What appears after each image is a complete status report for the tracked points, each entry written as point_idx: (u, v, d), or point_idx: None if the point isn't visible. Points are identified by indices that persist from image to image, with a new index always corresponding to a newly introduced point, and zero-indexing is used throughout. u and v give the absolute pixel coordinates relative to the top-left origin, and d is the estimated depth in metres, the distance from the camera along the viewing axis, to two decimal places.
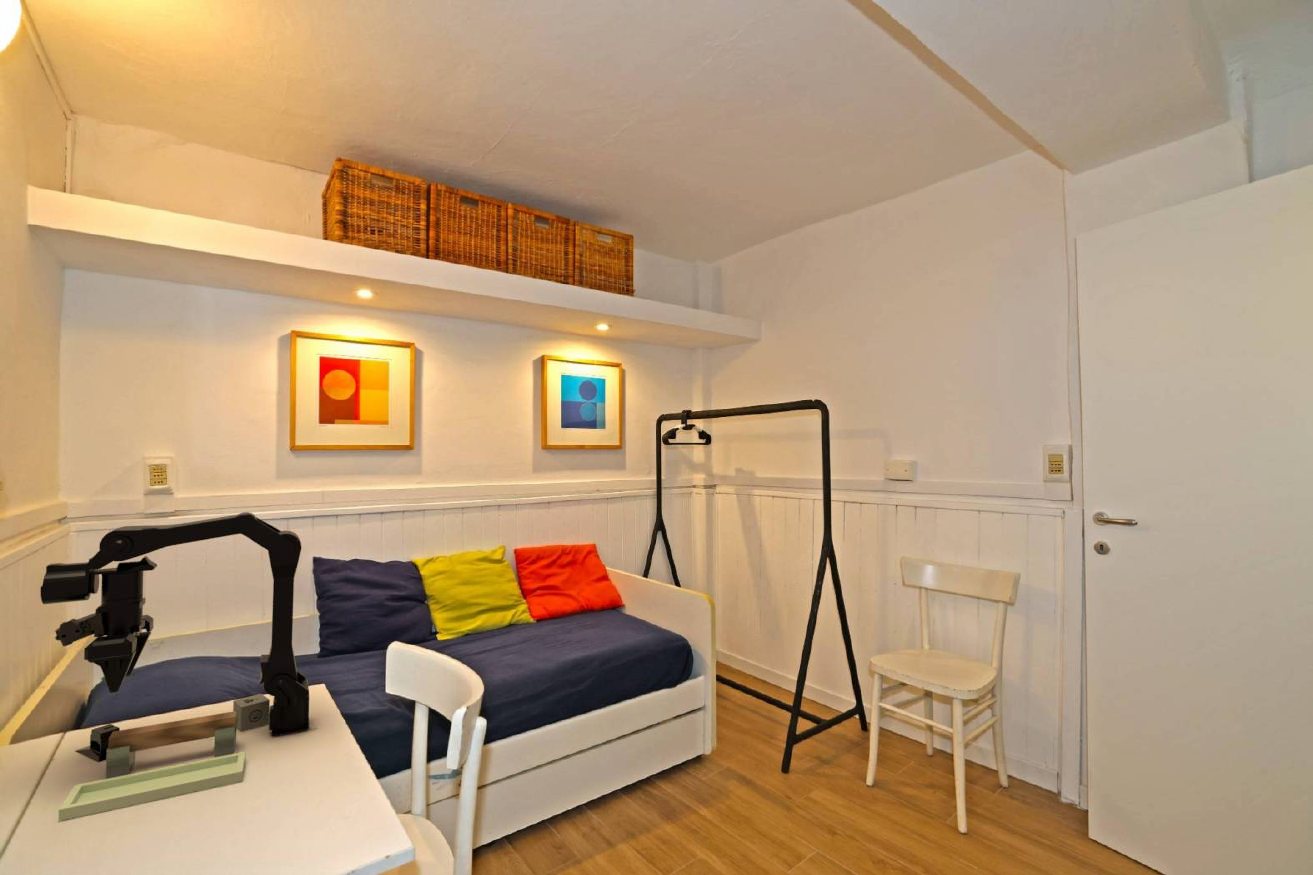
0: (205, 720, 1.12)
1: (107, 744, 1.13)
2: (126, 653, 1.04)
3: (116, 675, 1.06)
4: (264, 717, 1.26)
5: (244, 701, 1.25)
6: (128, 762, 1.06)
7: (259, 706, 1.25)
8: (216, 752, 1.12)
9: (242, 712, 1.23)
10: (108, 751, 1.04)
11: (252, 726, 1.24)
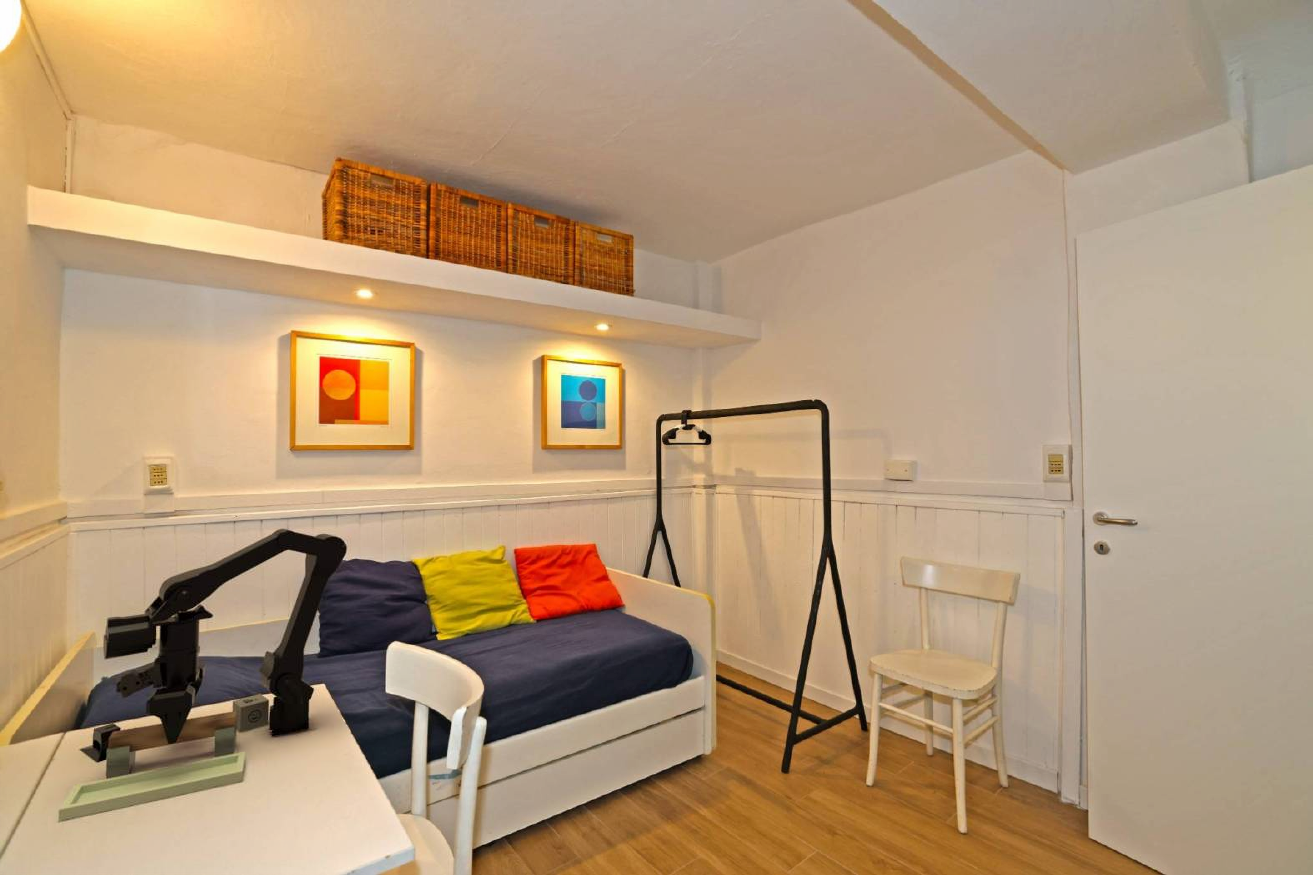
0: (205, 720, 1.12)
1: (107, 744, 1.13)
2: (186, 706, 1.05)
3: (175, 727, 1.06)
4: (263, 717, 1.25)
5: (243, 701, 1.25)
6: (128, 762, 1.06)
7: (259, 706, 1.25)
8: (216, 752, 1.12)
9: (242, 712, 1.22)
10: (108, 751, 1.04)
11: (251, 726, 1.24)
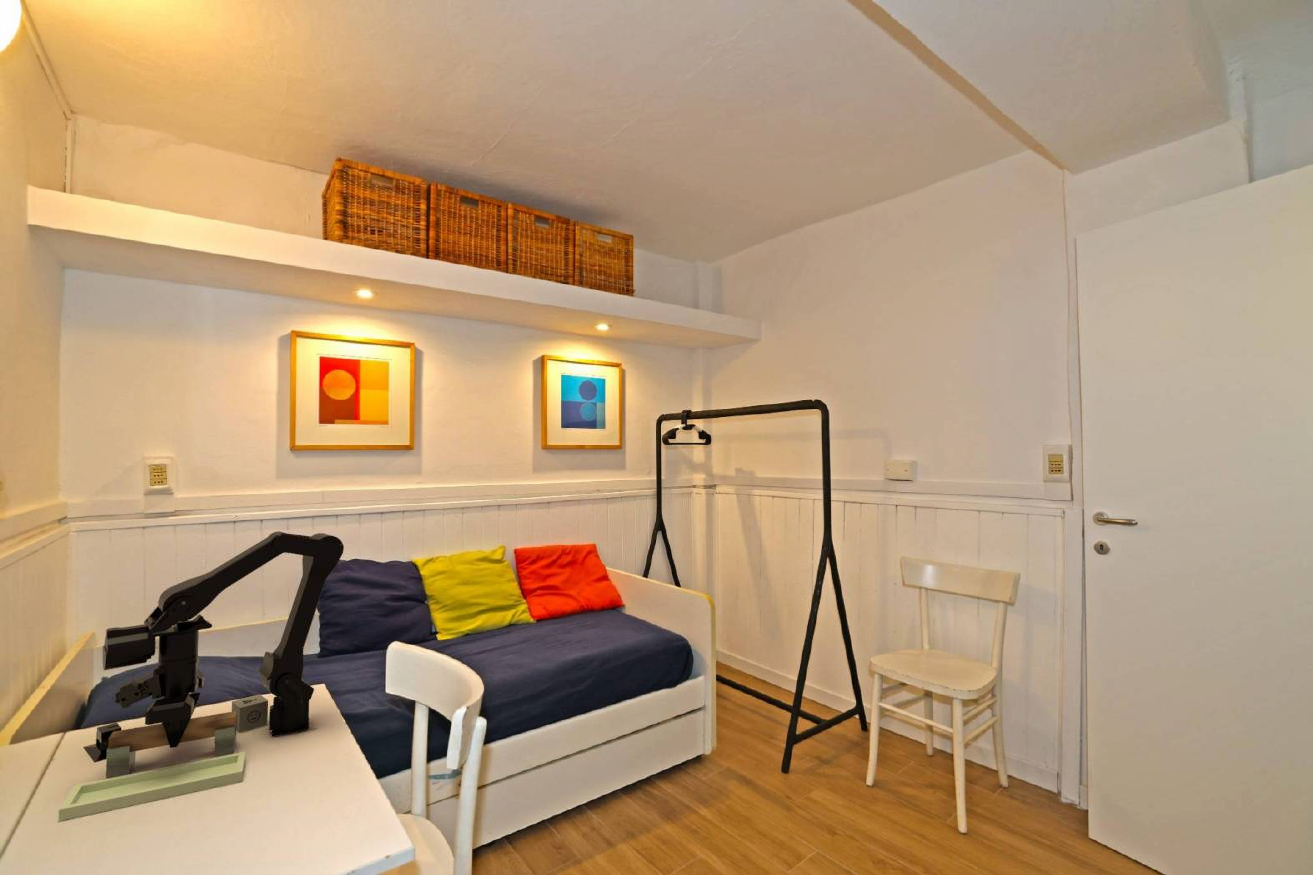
0: (205, 720, 1.12)
1: (108, 744, 1.13)
2: (185, 717, 1.04)
3: (176, 731, 1.09)
4: (262, 718, 1.25)
5: (242, 702, 1.25)
6: (128, 762, 1.06)
7: (258, 707, 1.25)
8: (216, 752, 1.12)
9: (241, 713, 1.22)
10: (108, 751, 1.04)
11: (250, 727, 1.23)
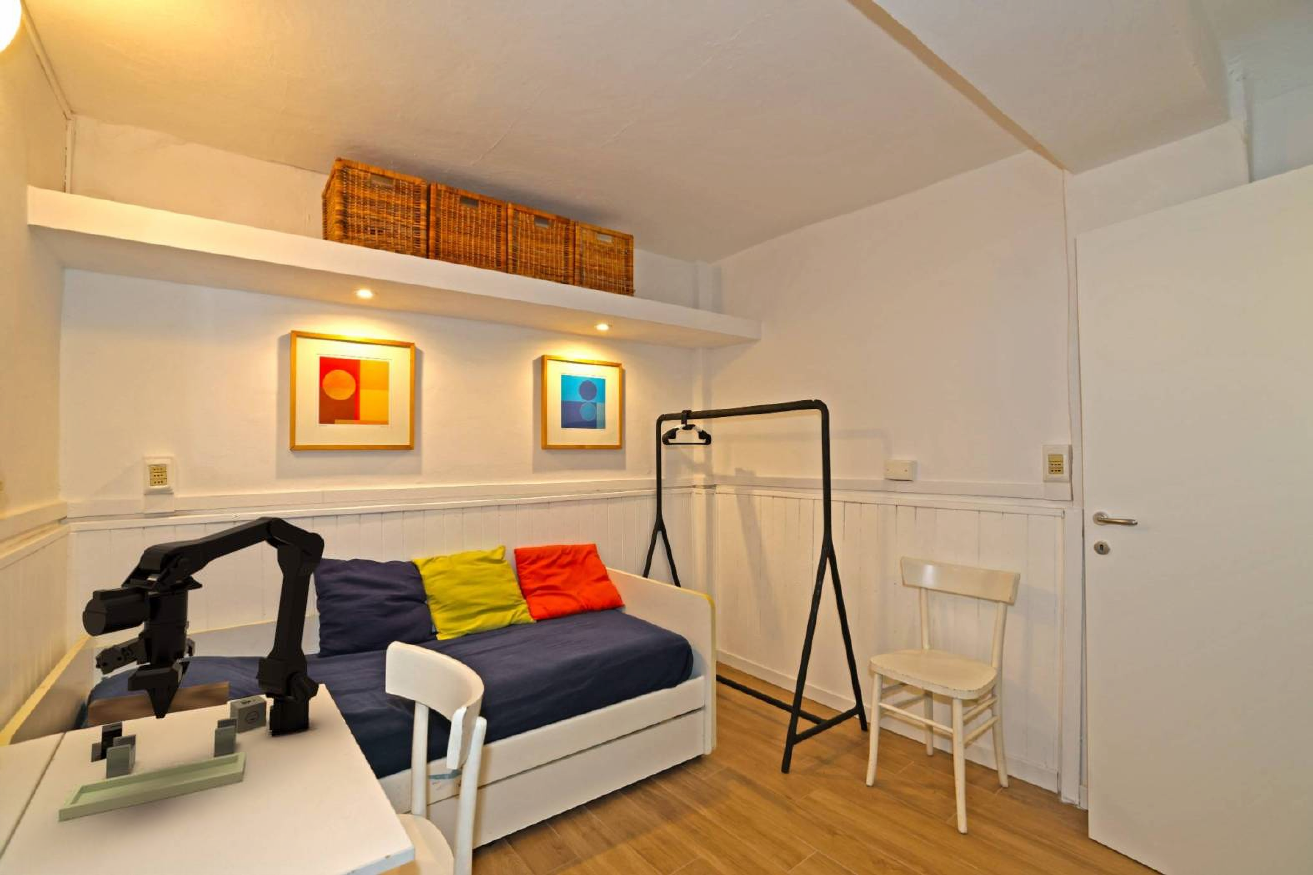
0: (194, 690, 1.04)
1: (108, 743, 1.13)
2: (172, 683, 0.95)
3: (163, 700, 1.00)
4: (261, 719, 1.25)
5: (241, 702, 1.25)
6: (128, 762, 1.06)
7: (256, 708, 1.24)
8: (216, 752, 1.12)
9: (239, 713, 1.22)
10: (108, 751, 1.04)
11: (249, 728, 1.23)
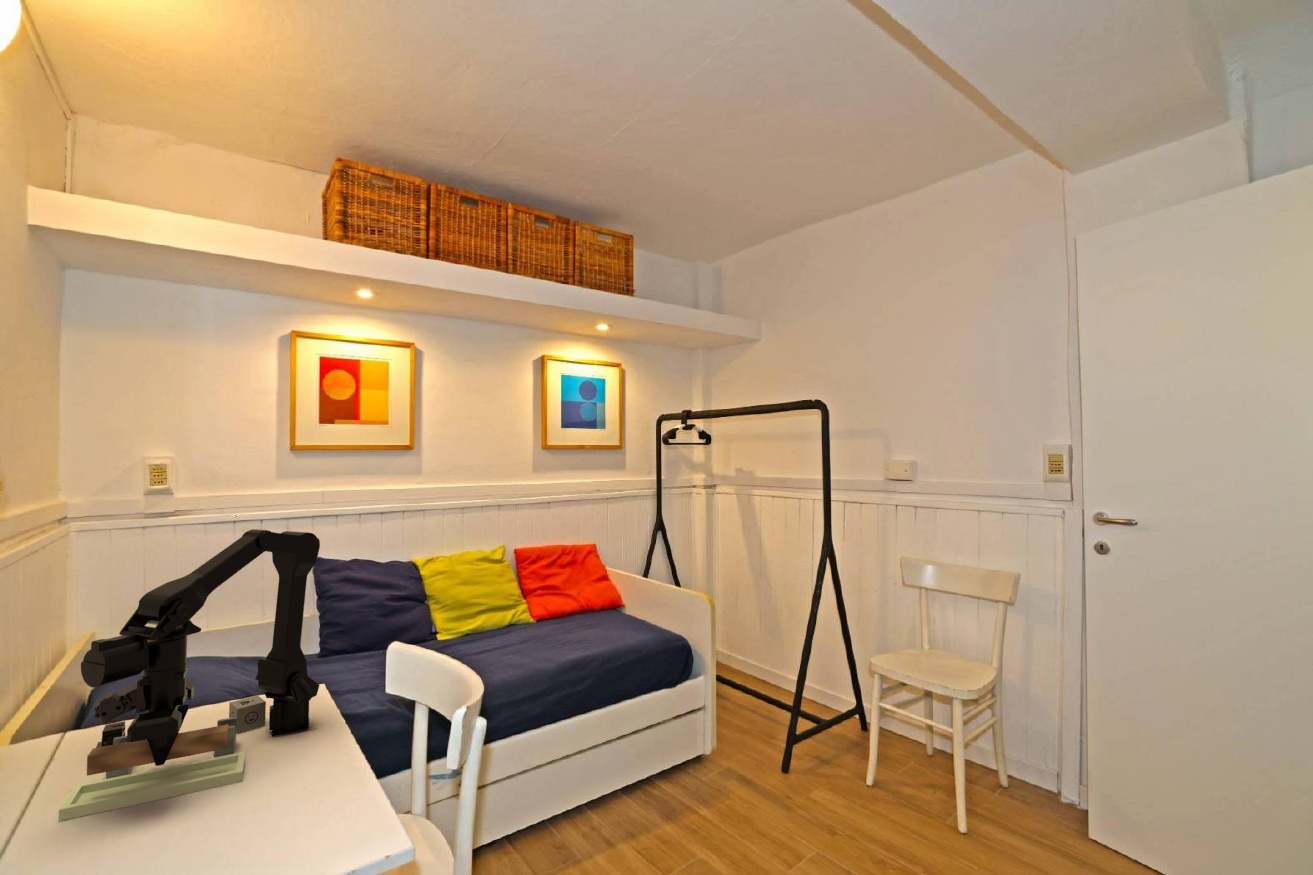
0: (193, 735, 1.03)
1: (108, 743, 1.13)
2: (172, 733, 0.95)
3: (163, 747, 1.00)
4: (260, 719, 1.25)
5: (240, 703, 1.24)
6: None
7: (255, 708, 1.24)
8: (216, 752, 1.12)
9: (238, 714, 1.22)
10: None
11: (248, 728, 1.23)
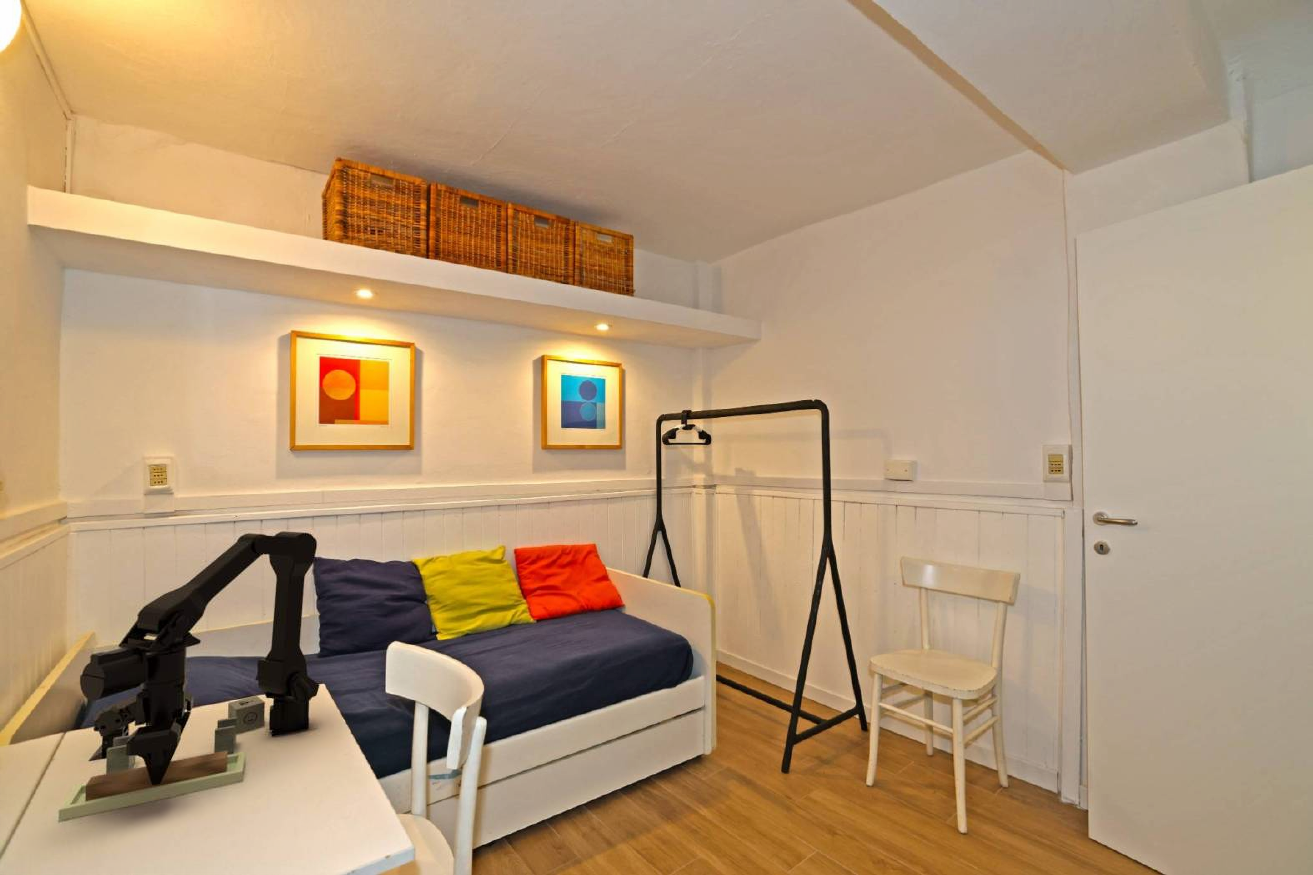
0: (192, 762, 1.03)
1: (109, 743, 1.14)
2: (171, 746, 0.95)
3: (159, 766, 0.98)
4: (259, 719, 1.24)
5: (239, 703, 1.24)
6: (128, 762, 1.06)
7: (254, 708, 1.24)
8: (216, 752, 1.12)
9: (237, 714, 1.21)
10: (108, 751, 1.04)
11: (247, 729, 1.23)
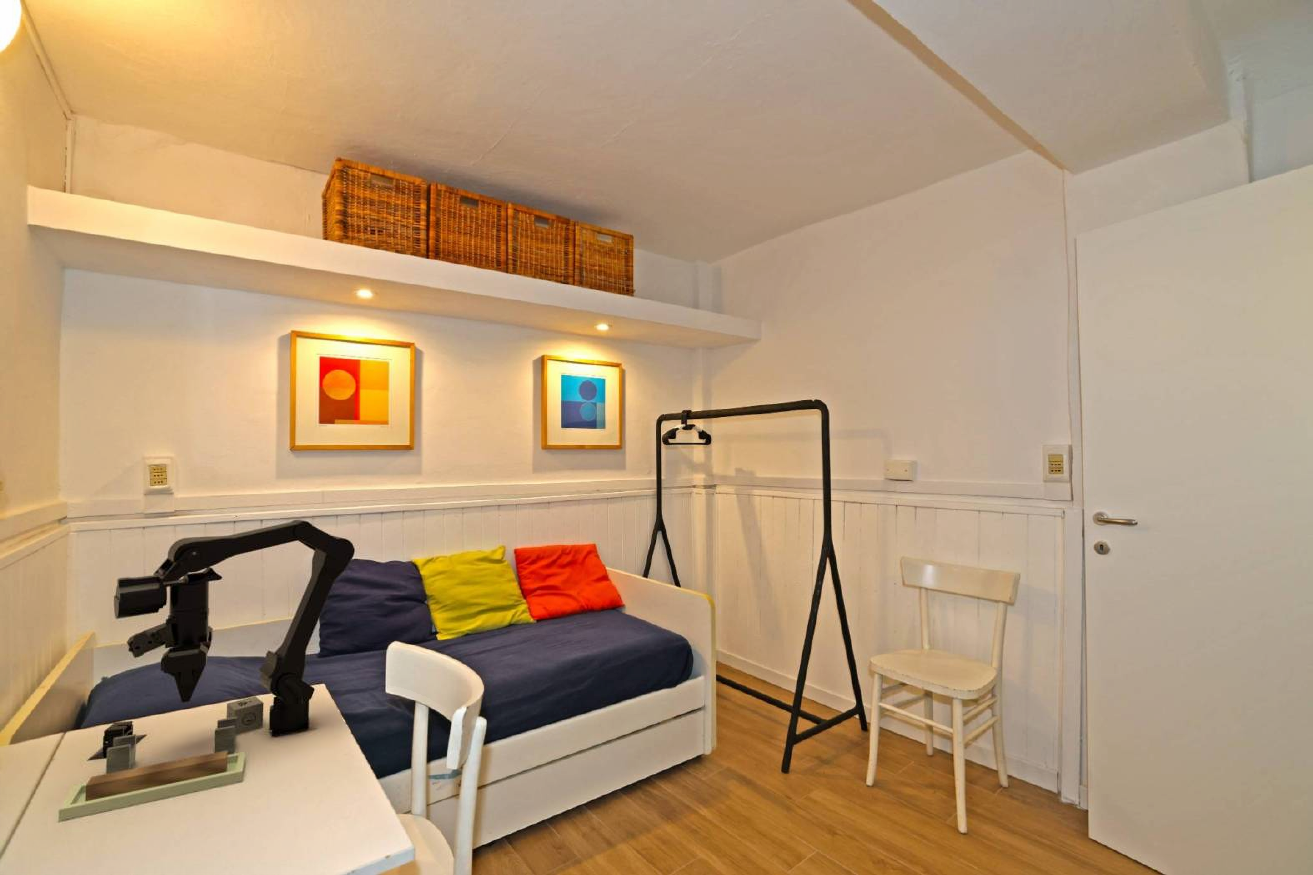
0: (192, 762, 1.03)
1: (109, 743, 1.14)
2: (201, 663, 1.06)
3: (188, 685, 1.08)
4: (258, 720, 1.24)
5: (238, 704, 1.24)
6: (128, 762, 1.06)
7: (253, 709, 1.23)
8: (216, 752, 1.12)
9: (236, 715, 1.21)
10: (108, 751, 1.04)
11: (246, 729, 1.22)
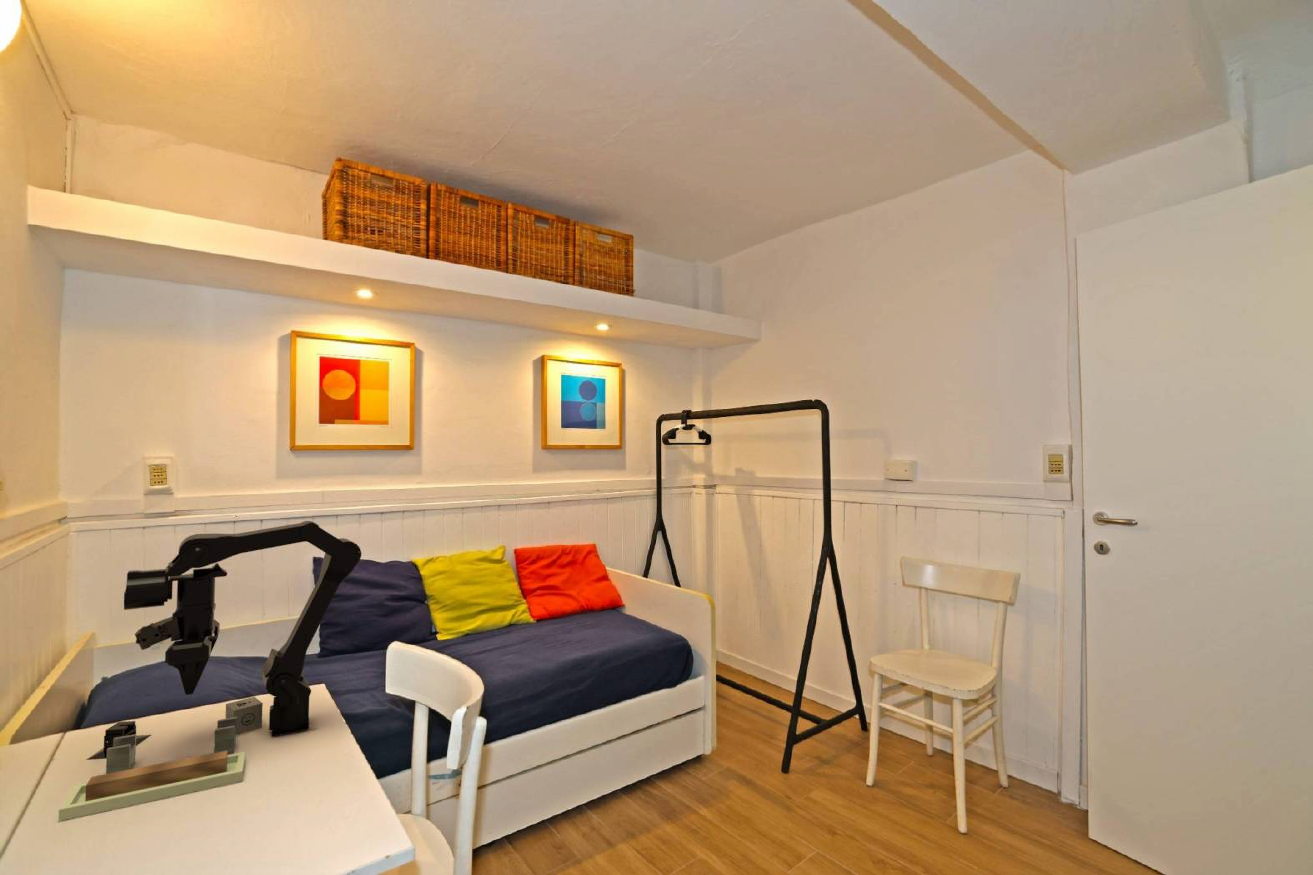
0: (192, 762, 1.03)
1: (110, 742, 1.14)
2: (203, 657, 1.08)
3: (192, 678, 1.10)
4: (257, 721, 1.24)
5: (237, 704, 1.24)
6: (128, 762, 1.06)
7: (252, 710, 1.23)
8: (216, 752, 1.12)
9: (235, 715, 1.21)
10: (108, 751, 1.04)
11: (244, 730, 1.22)
